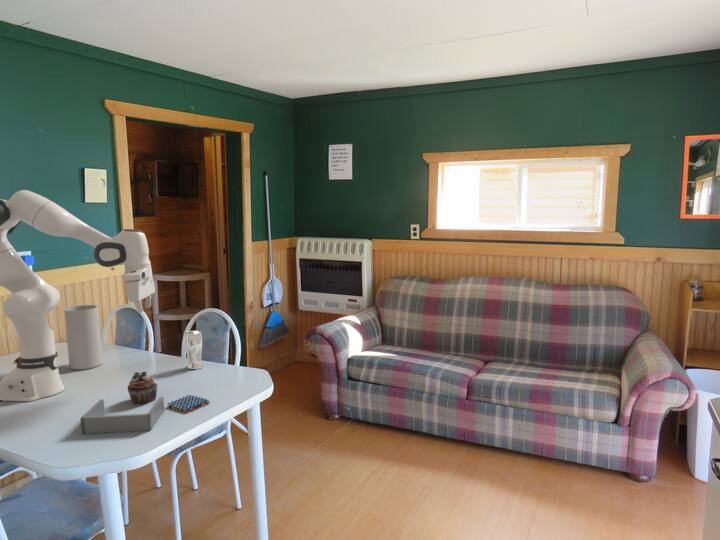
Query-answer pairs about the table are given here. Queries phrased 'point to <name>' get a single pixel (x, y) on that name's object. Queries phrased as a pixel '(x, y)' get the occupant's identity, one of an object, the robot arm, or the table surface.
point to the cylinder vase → (83, 337)
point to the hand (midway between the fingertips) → (144, 309)
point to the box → (120, 419)
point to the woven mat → (188, 403)
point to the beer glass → (193, 349)
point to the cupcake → (142, 388)
